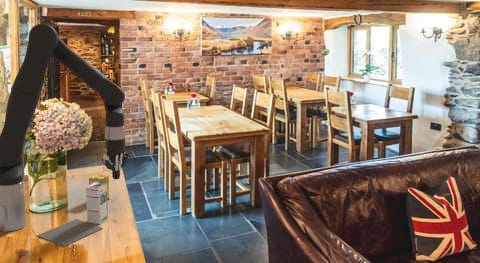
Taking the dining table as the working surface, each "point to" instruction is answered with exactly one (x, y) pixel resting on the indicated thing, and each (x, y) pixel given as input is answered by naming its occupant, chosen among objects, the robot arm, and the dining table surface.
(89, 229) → the charcoal mat
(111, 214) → the dining table surface
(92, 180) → the supplement box
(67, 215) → the dining table surface
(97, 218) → the syrup box
